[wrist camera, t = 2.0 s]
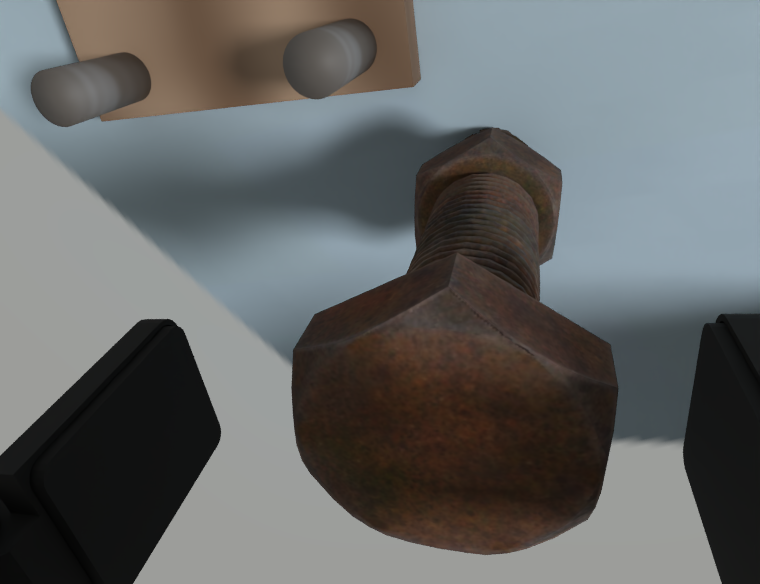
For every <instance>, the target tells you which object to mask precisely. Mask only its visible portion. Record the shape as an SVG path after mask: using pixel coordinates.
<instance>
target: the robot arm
mask: <svg viewBox="0 0 760 584" xmlns="http://www.w3.org/2000/svg"><path fill="white" fill-rule="evenodd" d="M220 437H221V428H220V424H219V422H218V419H217V416H216V414H215V411H214V408H213V406H212V403H211V401H210V398H209V395H208V393H207V390H206V387H205V385H204V382H203V380H202V377H201V374H200V372H199V369H198V367H197V364H196V361H195V359H194V356H193V354H192V351H191V348H190V346H189V343H188V340H187V338H186V335H185V333H184V331H183V329H181V327H178V326H177V325H176V323H175V322H173V320H170V319H145V320H141V321H139V322H138V323H137V324H136V325H135V326H133V327H132V329H130V330H129V331H128V332H127V333H126V334H125V335H124V336H123V337H122V338H121V339H120V340H119V341H118V342H117V343H116V344H115V345H114V346H113V347H112V348H111V349H110V350H109V351H108V352H107V353H106V354H105V355H104V356H103V357H102V358H100V360H98V362H96V363H95V364H94V365H93V366H92V367H91V368H90V369H89V370H88V371H87V372H86V373H85V374H84V375H83V376H82V377H81V378H80V379H79V380H78V381H77V382H76V383H75V384H74V385H73V386H72V387H71V388H70V389H69V390H68V391H66V392H65V394H63V395H62V397H60V399H58V400H57V401H56V402H55V403H54V404H53V405H52V406H51V407H50V408H49V409H48V410H47V411H46V412H45V413H44V414H43V415H42V416H41V417H40V418H39V419H38V420H37V421H36V422H34V423H33V424H32V426H30V428H28V429H27V430H26V431H25V432H24V433H23V434H22V435H21V436H20V437H19V438H18V439H17V440H16V441H15V442H14V443H13V444H12V445H11V446H10V447H9V448H8V449H7V450H6V451H5V452H4V453H3V454H2V455H1V456H0V584H133V583H134V581H135V579H136V578H137V576H138V574H139V573H140V571H141V570H142V568H143V566H144V565H145V563H146V561H147V560H148V558H149V556H150V555H151V553H152V552H153V550H154V548H155V547H156V545H157V543H158V542H159V540H160V539H161V537H162V535H163V534H164V532H165V530H166V529H167V527H168V525H169V524H170V522H171V521H172V519H173V517H174V516H175V514H176V512H177V511H178V509H179V508H180V506H181V504H182V503H183V501H184V499H185V498H186V496H187V494H188V493H189V491H190V490H191V488H192V486H193V485H194V483H195V481H196V480H197V478H198V477H199V475H200V473H201V471H202V470H203V468H204V467H205V465H206V463H207V462H208V460H209V459H210V457H211V455H212V454H213V452H214V450H215V449H216V447H217V445H218V443H219V441H220ZM683 457H684V465H685V470H686V473H687V476H688V479H689V483H690V486H691V488H692V492H693V495H694V498H695V501H696V504H697V507H698V511H699V514H700V517H701V520H702V523H703V526H704V529H705V532H706V535H707V538H708V542H709V545H710V548H711V551H712V554H713V557H714V560H715V564H716V566H717V570H718V573H719V576H720V579H721V582H722V584H760V314H721V315H719V316H718V318H717V320H716V323H706V324H705V325H704V327H703V330H702V336H701V342H700V348H699V354H698V360H697V366H696V373H695V379H694V385H693V391H692V397H691V403H690V409H689V416H688V422H687V428H686V434H685V440H684V447H683Z"/></svg>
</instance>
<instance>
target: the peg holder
mask: <svg viewBox="0 0 760 584" xmlns="http://www.w3.org/2000/svg"><path fill="white" fill-rule="evenodd" d="M56 1H57V3H58V6H59V9H60V11H61V14H62V17H63V19H64V22H65V25H66V27H67V30H68V33H69V35H70V38H71V41H72V43H73V46H74V49H75V51H76V54H77V57H78V59H79V62H77V63H72V64H68V65H63V66H59V67H55V68H50V69H46V70H41V71H39V72H38V73H36V74H35V75H34V77H33V79H32V82H31V94H32V98H33V101H34V103H35V105H36V107H37V109H38V110H39V111H40V113H41V114H42V115H43V116H44V117H45V118H46V119H47V120H48V121H50V122H51V123H53V124H55V125H57V126H61V127H69V126H72V125H75V124H78V123H81V122H83V121H86V120H89V119H92V118H94V117H97V116H100V118H101V121H111V120H120V119H129V118H138V117H147V116H156V115H165V114H174V113H183V112H192V111H201V110H210V109H219V108H228V107H237V106H246V105H255V104H264V103H273V102H282V101H291V100H300V99H309V98H310V99H322V98H325V97H328V96H336V95H345V94H354V93H363V92H372V91H381V90H390V89H399V88H408V87H414V86H415V85H416V84H417V83H418V82H419V81H420V79H421V76H420V66H419V56H418V46H417V37H416V27H415V17H414V8H413V0H56Z"/></svg>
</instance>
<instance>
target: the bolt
mask: <svg viewBox="0 0 760 584" xmlns="http://www.w3.org/2000/svg"><path fill="white" fill-rule="evenodd" d="M561 191H562V175H561V170H560V169H559V168H557V167H556V166H555V165H553V164H552V163H551V162H550V161H548V160H547V159H546V158H544V157H543V156H541V155H540V154H538V153H537V152H535V151H534V150H532V149H531V148H529V147H528V145H527V144H525V143H524V142H523V141H521V140H520V139H519V138H517V137H516V136H514V135H512V134H511V133H510V132H509V131H507V130H500V129H499V128H493V127H492V128H487V129H483V130H480V133H478V134H477V133H476V134H474V135H473V134H472V135H471V136H469V137H467V138H466V139H465V140H464V141H462V142H460V143H458V144H456V145H454V146H452V147H451V148H449V149H447V150H445V151H444V152H442V153H440V154H438V155H437V156H435V157H434V158H432V159H430V160H429V161H427V162H426V163H424V164H422V166H421V168H420V170H419V172H418V174H417V175H416V189H415V216H414V219H415V239H416V252H415V255H414V257H413V259H412V261H411V264H410V266H409V269H408V271H407V273H406V275H403V276H401V277H399V278H396V279H394V280H392V281H390V282H387V283H385V284H383V285H380V286H378V287H376V288H374V289H371V290H369V291H367V292H365V293H362V294H360V295H358V296H355V297H353V298H351V299H349V300H346V301H344V302H342V303H339V304H337V305H335V306H333V307H330V308H328V309H326V310H323V311H321V312H319V313H317V314H315V315H314V316H313V318H312V320H311V321H310V323H309V325H308V326H307V328H306V330H305V331H304V333H303V335H302V336H301V338H300V340H299V341H298V343H297V345H296V346H295V348H294V349H293V367H292V405H293V419H294V429H295V436H296V443H297V447H298V450H299V453H300V456H301V459H302V461H303V462H304V464H305V466H306V467H307V469H308V471H309V472H310V474H311V475H312V476H313V477H314V478H315V479H316V480H317V481H318V482H319V484H320V485H321V486H322V487H323V488H324V489H325V490H326V491H327V492H328V494H329V495H330V496H331V497H332V498H333V499H334V500H335V501H336V502H337V503H339V504H340V505H341V506H342V507H343V508H344V509H345V510H346V511H347V512H349V513H350V514H351V515H352V516H353V517H355V518H356V519H358V520H360V521H361V522H363V523H364V524H366V525H367V526H369V527H371V528H373V529H375V530H377V531H379V532H381V533H383V534H385V535H388V536H391V537H395V538H398V539H401V540H405V541H408V542H412V543H416V544H421V545H426V546H430V547H435V548H440V549H447V550H453V551H460V552H465V553H473V554H482V555H491V554H503V553H510V552H515V551H519V550H523V549H527V548H530V547H532V546H535V545H537V544H540V543H543V542H545V541H548V540H550V539H553V538H555V537H557V536H559V535H560V534H562V533H564V532H566V531H568V530H570V529H571V528H573V527H575V526H577V525H578V524H580V523H582V522H584V521H586V520H588V518H589V517H590V515H591V513H592V512H593V510H594V509H595V507H596V504H597V501H598V499H599V496H600V494H601V490H602V485H603V481H604V476H605V471H606V466H607V461H608V456H609V451H610V447H611V442H612V437H613V432H614V424H615V415H616V406H617V397H618V383H617V378H616V372H615V367H614V361H613V356H612V351H611V345H610V344H609V343H607V342H605V341H604V340H602V339H600V338H599V337H597V336H595V335H594V334H592V333H590V332H589V331H587V330H585V329H584V328H582V327H580V326H579V325H577V324H575V323H574V322H572V321H570V320H569V319H567V318H565V317H564V316H562V315H560V314H559V313H557V312H555V311H554V310H552V309H550V308H549V307H547V306H545V305H544V304H542V303H541V302H539V301H540V269H539V266H540V265H541V264H543V263H545V262H547V261H548V260H550V259H552V255H553V250H554V245H555V239H556V232H557V225H558V218H559V210H560V201H561Z"/></svg>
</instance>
